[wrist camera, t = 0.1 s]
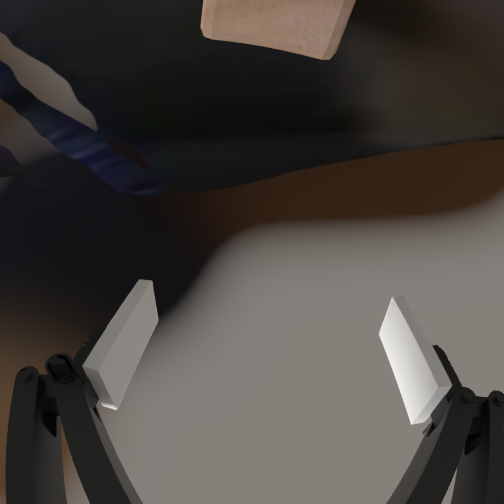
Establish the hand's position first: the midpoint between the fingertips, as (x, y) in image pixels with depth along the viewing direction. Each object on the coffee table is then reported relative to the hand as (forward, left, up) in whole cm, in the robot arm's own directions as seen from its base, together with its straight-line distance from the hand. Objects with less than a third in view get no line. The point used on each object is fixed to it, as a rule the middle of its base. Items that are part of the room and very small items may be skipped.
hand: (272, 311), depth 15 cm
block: (-10, +5, -36) cm, 38 cm away
